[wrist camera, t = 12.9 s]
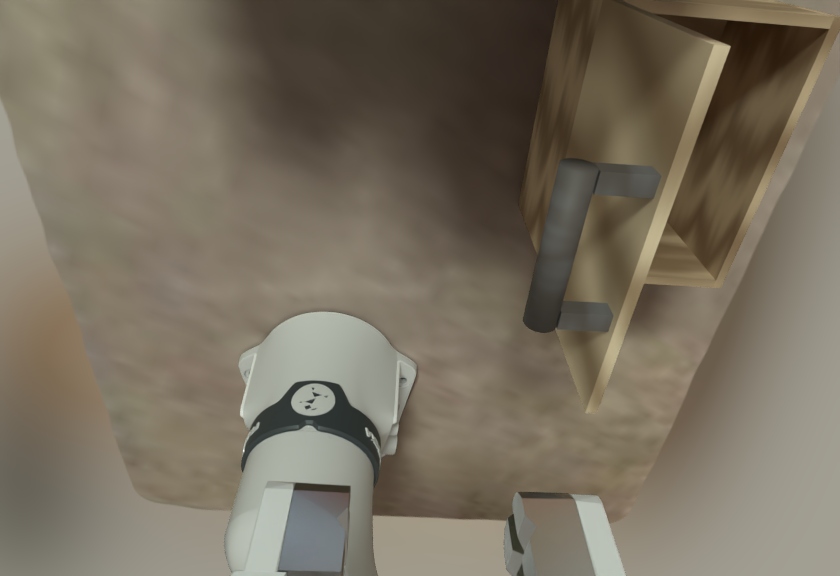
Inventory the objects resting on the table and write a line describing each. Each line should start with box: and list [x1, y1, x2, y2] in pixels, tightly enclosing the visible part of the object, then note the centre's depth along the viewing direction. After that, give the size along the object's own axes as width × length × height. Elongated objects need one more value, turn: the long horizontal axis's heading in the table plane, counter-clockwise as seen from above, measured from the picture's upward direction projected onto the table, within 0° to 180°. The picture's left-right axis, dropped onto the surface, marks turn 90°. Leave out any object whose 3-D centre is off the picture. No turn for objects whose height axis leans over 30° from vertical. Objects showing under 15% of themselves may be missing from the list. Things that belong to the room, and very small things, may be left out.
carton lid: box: [523, 0, 731, 413], centre depth 29 cm, size 18×13×5 cm
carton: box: [518, 0, 840, 288], centre depth 40 cm, size 18×13×12 cm
